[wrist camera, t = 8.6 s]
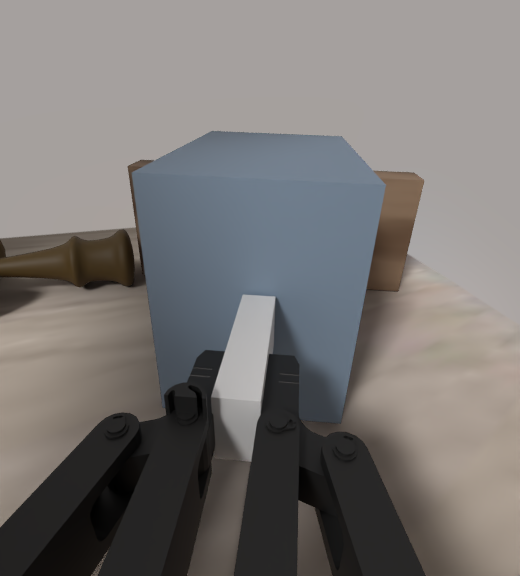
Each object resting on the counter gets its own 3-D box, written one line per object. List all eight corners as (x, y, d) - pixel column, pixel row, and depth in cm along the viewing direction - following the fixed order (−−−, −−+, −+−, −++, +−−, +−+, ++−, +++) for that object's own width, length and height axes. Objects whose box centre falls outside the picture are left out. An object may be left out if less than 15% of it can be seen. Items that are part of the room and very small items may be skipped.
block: (340, 423, 20) (385, 184, 14) (162, 407, 21) (131, 172, 15) (322, 286, 34) (341, 136, 28) (216, 279, 35) (211, 131, 29)
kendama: (140, 312, 31) (-177, 351, 24) (134, 267, 39) (-105, 287, 33) (132, 244, 28) (-225, 268, 22) (128, 210, 36) (-134, 221, 30)
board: (398, 291, 34) (424, 180, 29) (142, 274, 35) (127, 166, 31) (390, 276, 37) (413, 172, 32) (153, 261, 38) (141, 159, 33)
